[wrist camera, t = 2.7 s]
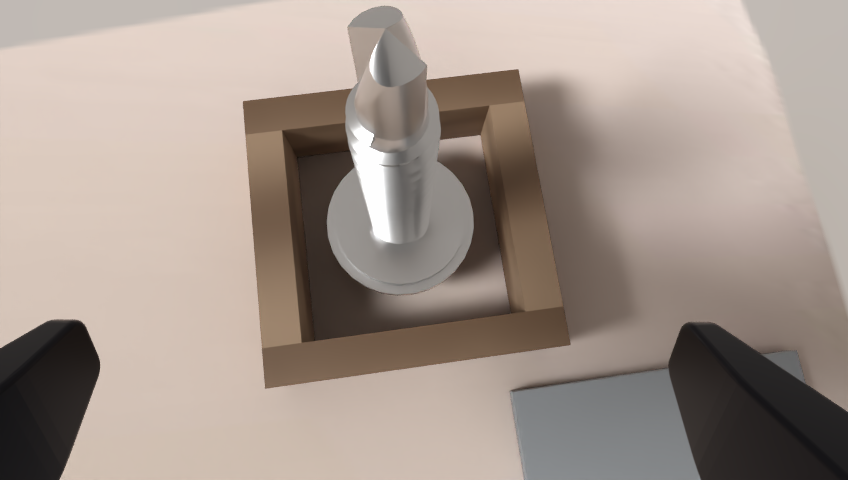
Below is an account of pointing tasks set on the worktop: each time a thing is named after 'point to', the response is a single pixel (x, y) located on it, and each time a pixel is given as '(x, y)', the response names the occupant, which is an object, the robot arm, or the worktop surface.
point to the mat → (610, 427)
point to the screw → (395, 169)
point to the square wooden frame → (418, 346)
